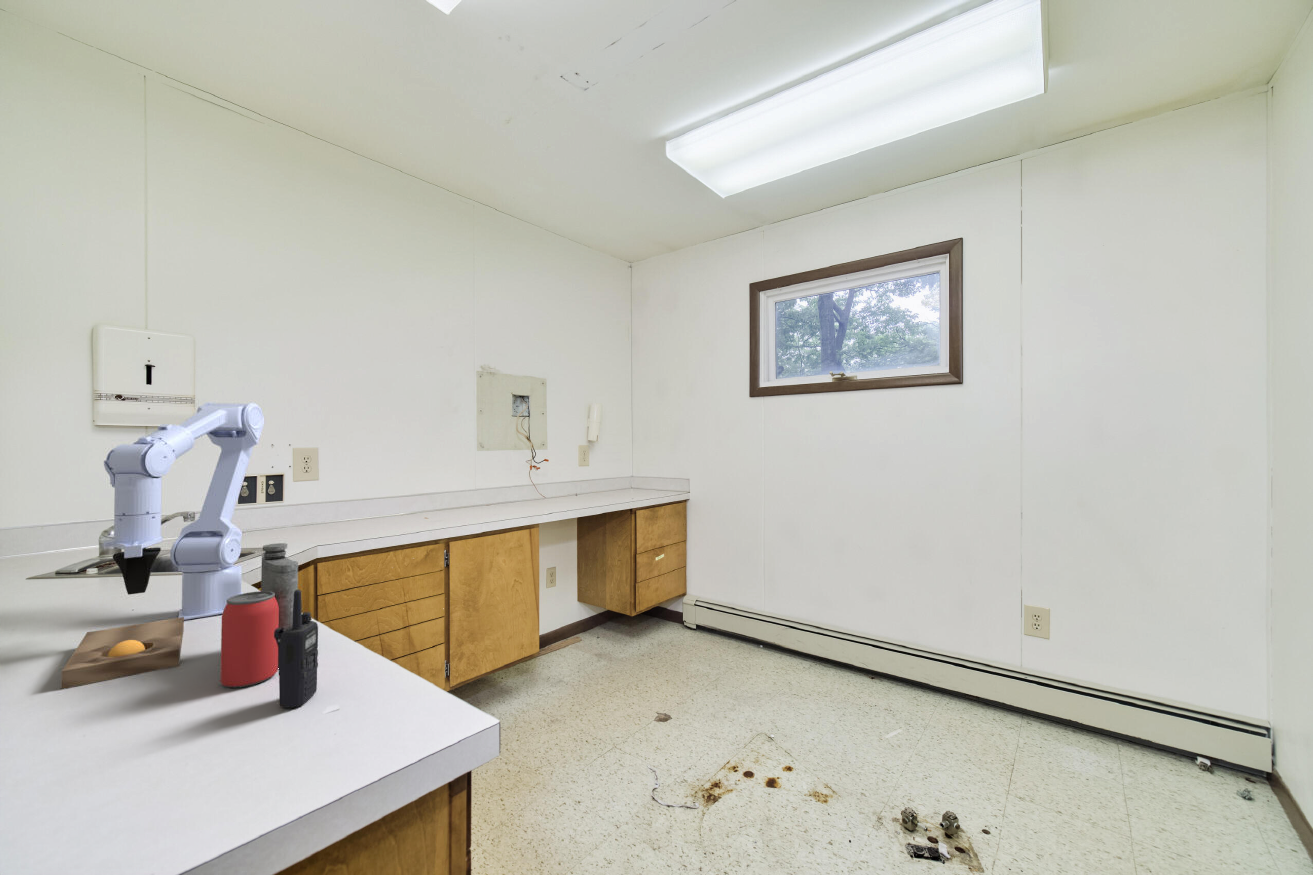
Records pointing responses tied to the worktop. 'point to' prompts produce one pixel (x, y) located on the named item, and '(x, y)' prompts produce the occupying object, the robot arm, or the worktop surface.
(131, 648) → the ball
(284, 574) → the flask
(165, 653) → the hole board
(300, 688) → the two-way radio
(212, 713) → the worktop surface
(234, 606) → the beer can
